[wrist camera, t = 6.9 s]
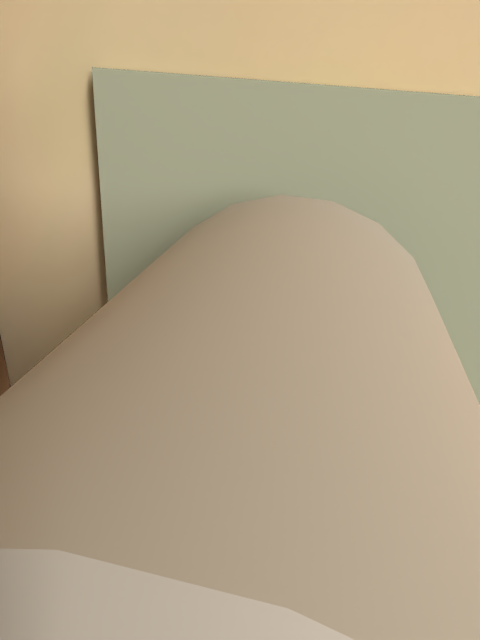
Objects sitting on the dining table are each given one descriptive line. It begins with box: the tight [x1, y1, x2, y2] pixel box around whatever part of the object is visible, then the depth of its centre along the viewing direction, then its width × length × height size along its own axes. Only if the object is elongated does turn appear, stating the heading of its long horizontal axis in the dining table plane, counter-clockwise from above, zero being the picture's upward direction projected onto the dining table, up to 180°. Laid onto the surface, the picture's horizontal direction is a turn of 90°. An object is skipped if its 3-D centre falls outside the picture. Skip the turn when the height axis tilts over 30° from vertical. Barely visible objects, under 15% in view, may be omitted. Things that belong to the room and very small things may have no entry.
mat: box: [92, 67, 480, 405], centre depth 14 cm, size 12×12×1 cm
